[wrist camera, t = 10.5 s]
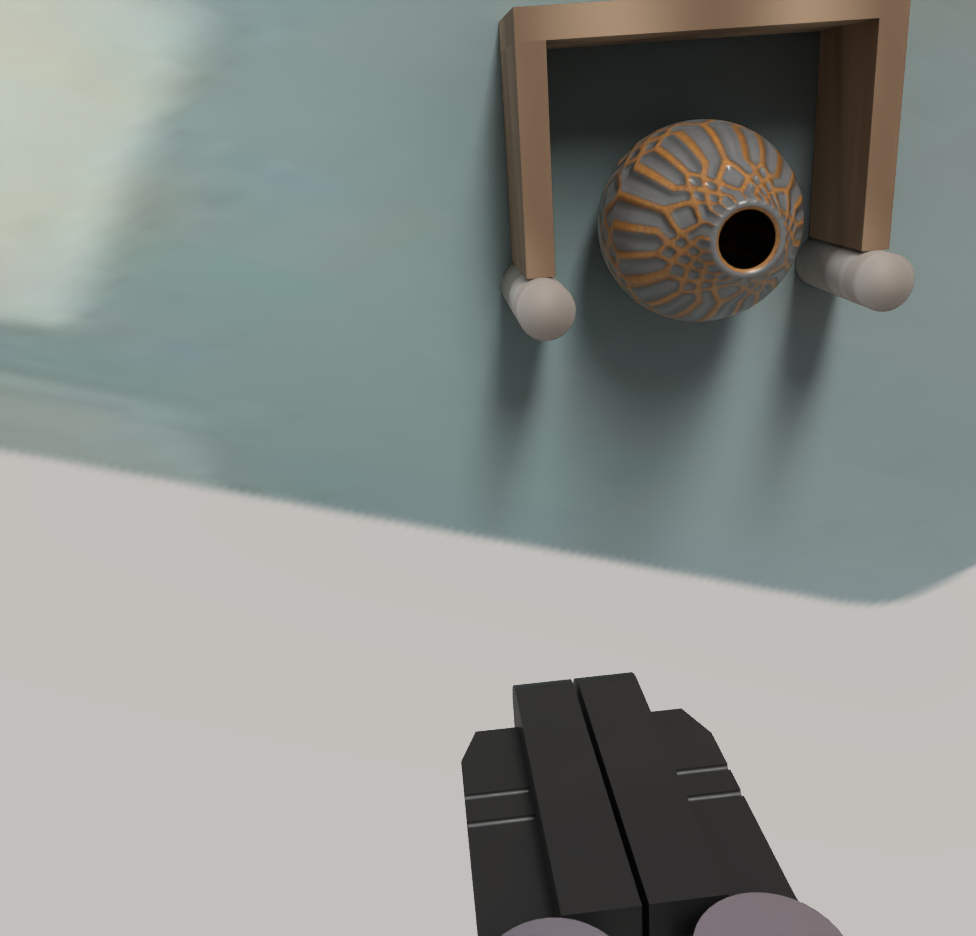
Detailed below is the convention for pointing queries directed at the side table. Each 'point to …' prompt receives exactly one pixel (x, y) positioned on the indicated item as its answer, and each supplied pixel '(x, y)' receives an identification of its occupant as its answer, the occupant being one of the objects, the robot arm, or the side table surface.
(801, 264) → the housing
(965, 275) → the side table surface
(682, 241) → the vase
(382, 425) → the side table surface
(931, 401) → the side table surface
